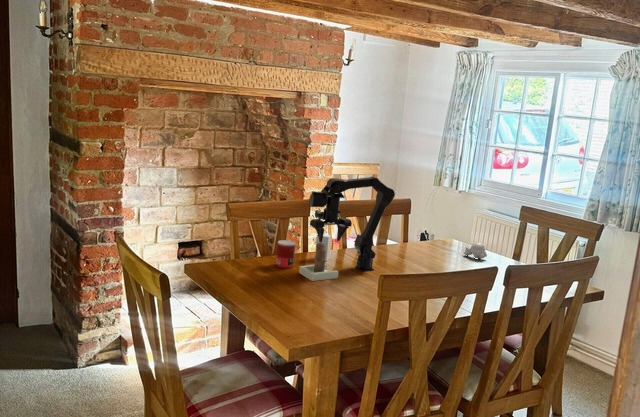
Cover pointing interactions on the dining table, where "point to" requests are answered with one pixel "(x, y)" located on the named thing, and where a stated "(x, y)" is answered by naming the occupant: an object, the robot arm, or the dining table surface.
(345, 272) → the dining table surface
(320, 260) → the brown round cylinder
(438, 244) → the dining table surface
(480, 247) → the chubby cartoon animal
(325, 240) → the skincare box
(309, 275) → the tray
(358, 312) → the dining table surface
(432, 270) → the dining table surface
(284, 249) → the canned food
